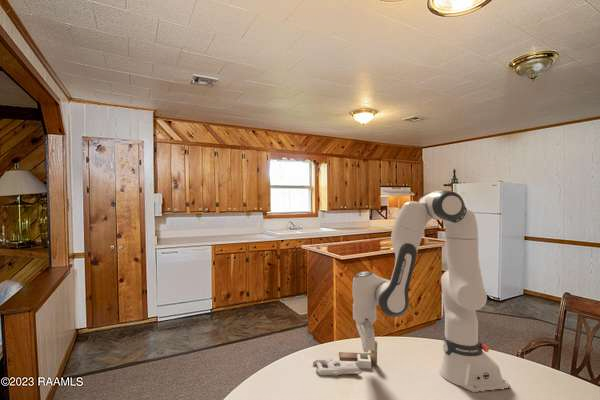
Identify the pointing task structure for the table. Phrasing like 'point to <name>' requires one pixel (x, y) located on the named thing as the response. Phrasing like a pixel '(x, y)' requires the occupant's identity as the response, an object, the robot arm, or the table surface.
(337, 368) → the gun
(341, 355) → the bar
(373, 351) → the tan rounded rod
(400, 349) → the table surface
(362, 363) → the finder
